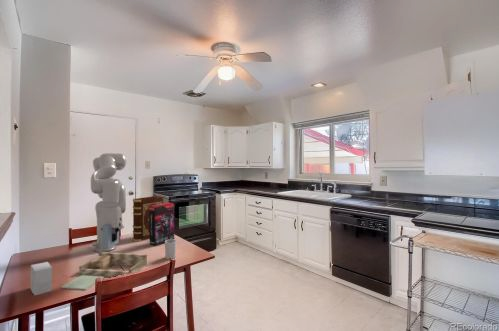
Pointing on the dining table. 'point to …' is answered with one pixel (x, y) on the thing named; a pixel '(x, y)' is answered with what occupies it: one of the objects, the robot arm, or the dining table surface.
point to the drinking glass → (170, 248)
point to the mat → (81, 282)
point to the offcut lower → (102, 267)
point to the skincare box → (41, 278)
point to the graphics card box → (161, 223)
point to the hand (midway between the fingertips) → (110, 240)
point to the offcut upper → (100, 261)
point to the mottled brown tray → (118, 259)
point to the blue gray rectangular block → (108, 236)
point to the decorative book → (143, 216)
